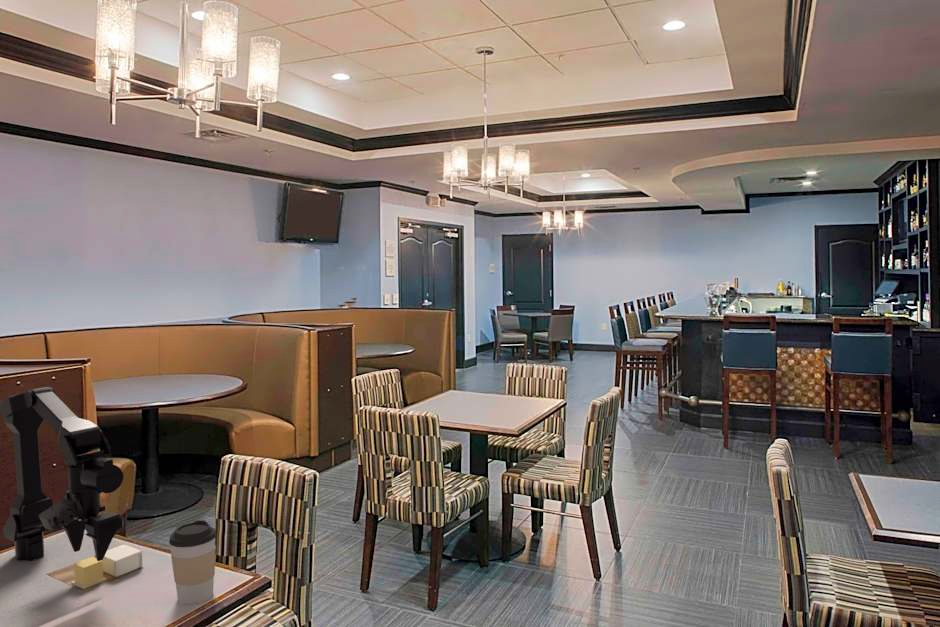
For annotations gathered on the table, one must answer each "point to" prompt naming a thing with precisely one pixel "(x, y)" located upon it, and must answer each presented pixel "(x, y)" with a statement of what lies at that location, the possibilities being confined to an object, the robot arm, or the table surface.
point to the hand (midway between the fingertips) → (88, 555)
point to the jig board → (68, 577)
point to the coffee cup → (193, 561)
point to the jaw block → (88, 571)
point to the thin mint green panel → (89, 584)
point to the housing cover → (122, 560)
